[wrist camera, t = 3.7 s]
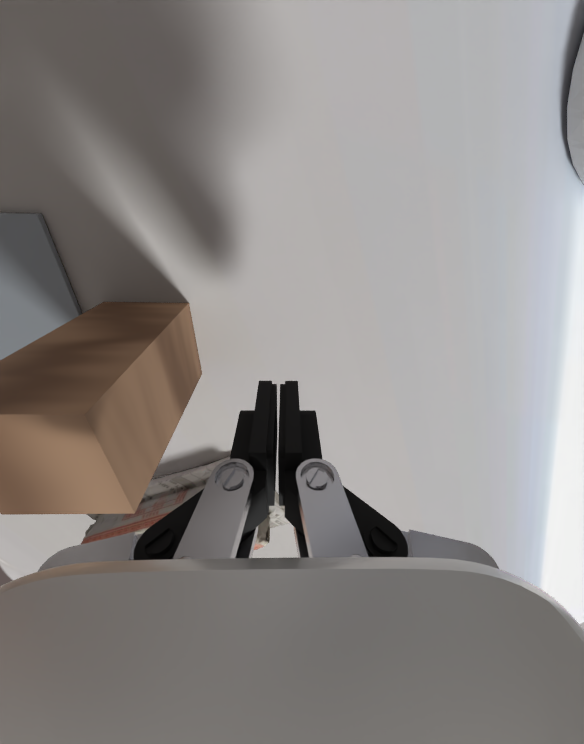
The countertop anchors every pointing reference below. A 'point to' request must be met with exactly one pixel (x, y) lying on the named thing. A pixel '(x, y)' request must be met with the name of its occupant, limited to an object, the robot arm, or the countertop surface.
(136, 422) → the walnut block
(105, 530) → the packaged product
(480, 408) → the countertop surface
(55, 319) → the rubber mat
